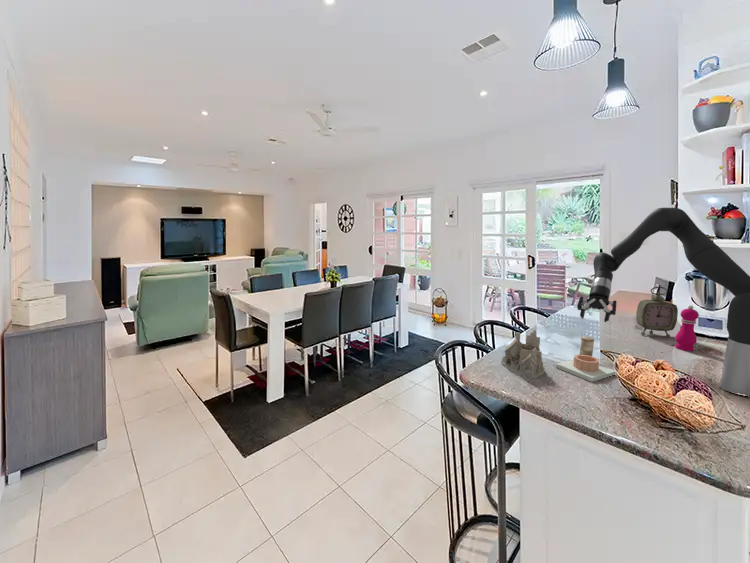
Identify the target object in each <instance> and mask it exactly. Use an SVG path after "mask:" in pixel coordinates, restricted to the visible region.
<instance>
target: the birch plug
mask: <svg viewBox="0 0 750 563" xmlns="http://www.w3.org/2000/svg"><path fill="white" fill-rule="evenodd" d="M594 343H595V338H593V337H591V336H581V339H580V346H579V347H580V349H579V355H588V356H592V357H593V354H594V352H593V351H594V345H595V344H594Z"/></svg>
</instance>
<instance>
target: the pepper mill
mask: <svg viewBox="0 0 750 563" xmlns="http://www.w3.org/2000/svg"><path fill="white" fill-rule="evenodd" d="M680 317H681V320H680V322H681V327H680V329H679V330H678V332H677V333H676V335H675V336H674V340H675V341H676V343H675V346H674V347H675V348H676V349H678V350H680V351H685V352H694V351H695V346H694V345H695V344H697V341H698V340H697V336H696V333H695V324H697V323H696V322H697V319H698V318H699V312H698V310H695V309H694V306H693V305H688V306H687V308H684V309H682V310H681V311H680Z"/></svg>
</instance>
